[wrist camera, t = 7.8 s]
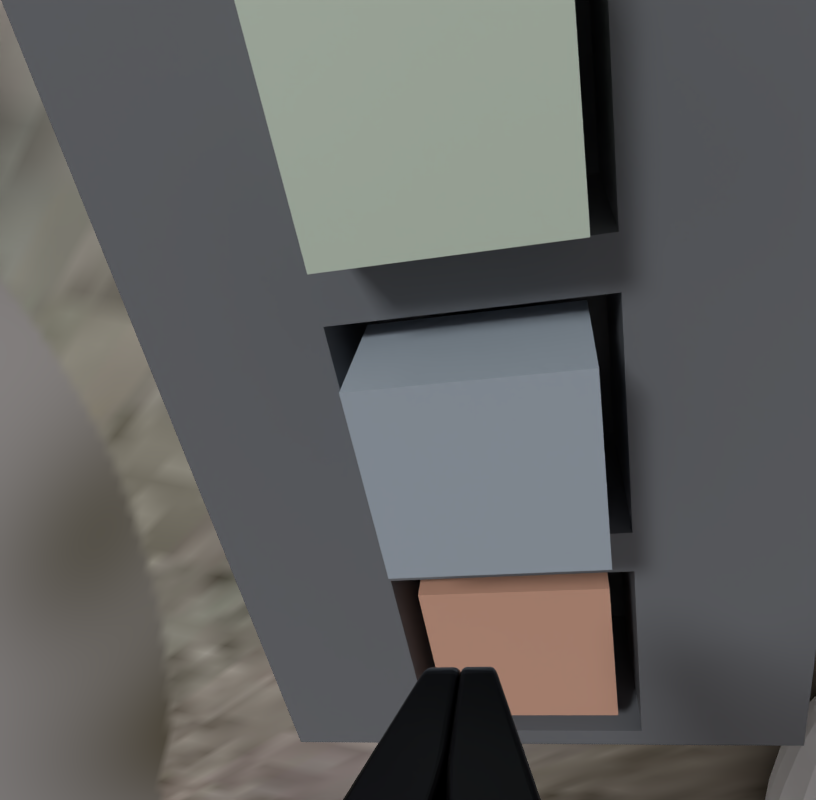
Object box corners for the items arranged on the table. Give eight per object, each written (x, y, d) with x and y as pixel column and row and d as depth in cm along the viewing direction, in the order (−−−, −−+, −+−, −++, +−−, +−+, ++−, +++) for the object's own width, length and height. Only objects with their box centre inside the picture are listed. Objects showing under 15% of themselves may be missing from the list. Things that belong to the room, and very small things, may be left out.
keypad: (857, -910, 8) (1082, -1495, 5) (757, 611, 20) (804, 745, 17) (-45, -534, 11) (-305, -755, 7) (334, 623, 23) (301, 741, 19)
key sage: (558, -107, 10) (567, -122, 8) (579, 186, 12) (589, 237, 10) (282, -44, 11) (223, -42, 9) (343, 221, 13) (307, 274, 11)
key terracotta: (599, 510, 17) (609, 588, 15) (608, 630, 19) (618, 715, 17) (430, 519, 18) (417, 595, 16) (455, 634, 20) (447, 715, 18)
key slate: (587, 300, 13) (599, 367, 11) (600, 482, 15) (611, 569, 13) (367, 324, 14) (339, 393, 12) (407, 494, 16) (388, 578, 14)
